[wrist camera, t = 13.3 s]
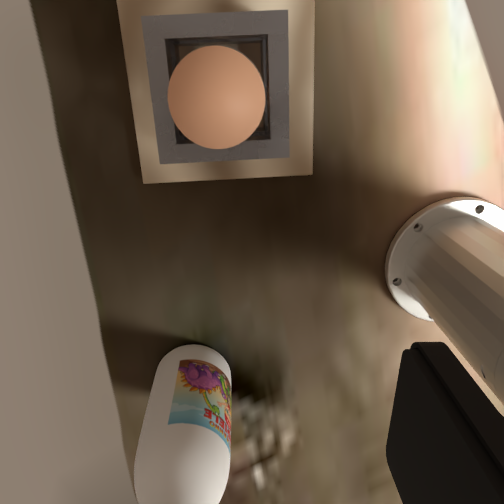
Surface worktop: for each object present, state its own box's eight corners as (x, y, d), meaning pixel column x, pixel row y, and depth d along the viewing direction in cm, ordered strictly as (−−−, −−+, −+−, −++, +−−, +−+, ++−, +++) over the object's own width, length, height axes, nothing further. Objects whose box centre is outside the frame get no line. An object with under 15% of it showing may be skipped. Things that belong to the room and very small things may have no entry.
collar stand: (311, -19, 31) (338, -52, 23) (309, 170, 36) (331, 196, 28) (119, -11, 30) (80, -41, 23) (146, 179, 36) (123, 208, 28)
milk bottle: (185, 412, 46) (154, 637, 28) (141, 364, 43) (75, 578, 25) (244, 380, 45) (254, 594, 26) (204, 329, 42) (182, 526, 24)
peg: (261, 86, 32) (288, 95, 17) (225, 129, 33) (222, 171, 18) (219, 45, 31) (210, 17, 16) (183, 91, 32) (144, 103, 17)
